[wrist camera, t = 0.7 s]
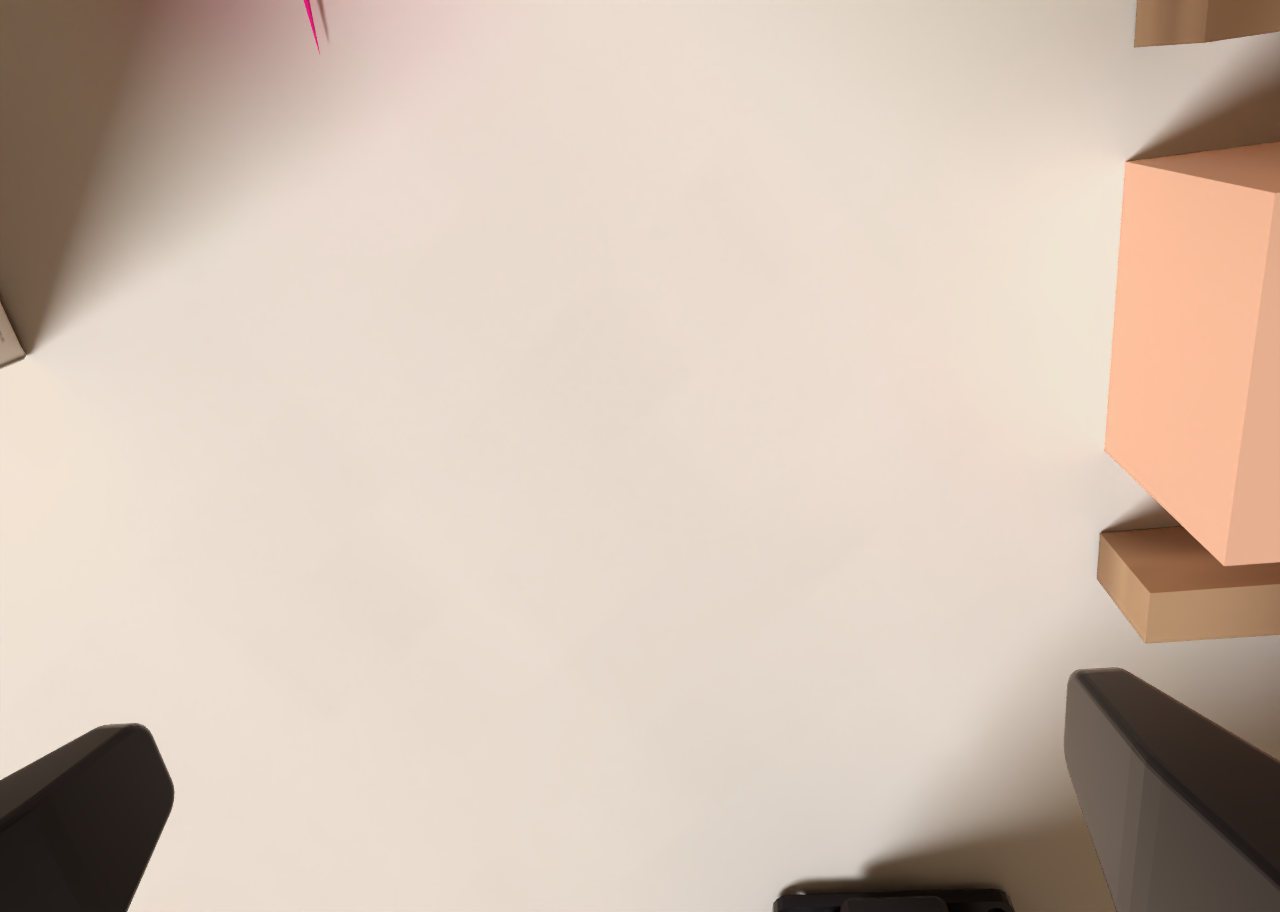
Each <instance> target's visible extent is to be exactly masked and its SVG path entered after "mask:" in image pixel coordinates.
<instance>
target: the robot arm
mask: <svg viewBox="0 0 1280 912" xmlns="http://www.w3.org/2000/svg"><path fill="white" fill-rule="evenodd" d="M1064 752H1065V759H1066V763H1067V768H1068V771H1069V774H1070V777H1071V780H1072V783H1073V786H1074V789H1075V792H1076V794H1077V797H1078V800H1079V803H1080V806H1081V809H1082V812H1083V815H1084V818H1085V820H1086V823H1087V826H1088V829H1089V832H1090V835H1091V838H1092V841H1093V844H1094V846H1095V849H1096V852H1097V855H1098V858H1099V861H1100V864H1101V867H1102V870H1103V872H1104V875H1105V878H1106V881H1107V884H1108V887H1109V890H1110V893H1111V896H1112V898H1113V901H1114V904H1115V907H1116V910H1117V912H1280V761H1278V760H1277V759H1275V758H1273V757H1272V756H1270V755H1268V754H1267V753H1265V752H1263V751H1261V750H1260V749H1258V748H1256V747H1255V746H1253V745H1251V744H1250V743H1248V742H1246V741H1245V740H1243V739H1241V738H1240V737H1238V736H1236V735H1234V734H1233V733H1231V732H1229V731H1228V730H1226V729H1224V728H1223V727H1221V726H1219V725H1218V724H1216V723H1214V722H1212V721H1211V720H1209V719H1207V718H1206V717H1204V716H1202V715H1201V714H1199V713H1197V712H1196V711H1194V710H1192V709H1191V708H1189V707H1187V706H1185V705H1184V704H1182V703H1180V702H1179V701H1177V700H1175V699H1174V698H1172V697H1170V696H1169V695H1167V694H1165V693H1163V692H1162V691H1160V690H1158V689H1157V688H1155V687H1153V686H1152V685H1150V684H1148V683H1147V682H1145V681H1143V680H1142V679H1140V678H1138V677H1136V676H1135V675H1133V674H1131V673H1130V672H1128V671H1126V670H1124V669H1121V668H1096V669H1079V670H1076V671H1075V672H1073V673H1072V674H1071V675H1070V678H1069V681H1068V685H1067V700H1066V716H1065V733H1064ZM173 802H174V785H173V782H172V779H171V777H170V775H169V772H168V770H167V768H166V766H165V763H164V761H163V759H162V756H161V754H160V752H159V749H158V747H157V745H156V743H155V740H154V738H153V736H152V734H151V732H150V731H149V730H148V729H147V728H146V727H145V726H144V725H141V724H138V723H128V724H110V725H103V726H100V727H97V728H95V729H93V730H91V731H89V732H88V733H86V734H84V735H82V736H80V737H79V738H77V739H75V740H73V741H71V742H69V743H68V744H66V745H64V746H62V747H60V748H58V749H57V750H55V751H53V752H51V753H49V754H47V755H46V756H44V757H42V758H40V759H38V760H36V761H35V762H33V763H31V764H29V765H27V766H25V767H24V768H22V769H20V770H18V771H16V772H15V773H13V774H11V775H9V776H7V777H5V778H4V779H2V780H0V912H127V911H128V908H129V906H130V904H131V902H132V899H133V897H134V895H135V892H136V890H137V888H138V886H139V883H140V881H141V879H142V876H143V874H144V872H145V870H146V867H147V865H148V863H149V860H150V858H151V856H152V854H153V851H154V849H155V847H156V844H157V842H158V840H159V838H160V835H161V833H162V831H163V828H164V826H165V824H166V822H167V819H168V817H169V815H170V812H171V810H172V807H173ZM773 912H1014V908H1013V905H1012V903H1011V900H1010V897H1009V896H1008V895H1007V893H1006V892H1004V891H1001V890H998V889H970V890H938V891H906V892H873V893H841V894H809V895H787V896H782V897H780V898H778V899H777V900H776V901H775V902H774V903H773Z"/></svg>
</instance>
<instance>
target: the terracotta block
mask: <svg viewBox="0 0 1280 912" xmlns="http://www.w3.org/2000/svg"><path fill="white" fill-rule="evenodd" d="M1104 451H1105V452H1106V453H1107V454H1109V455H1110V456H1111V457H1112V458H1113V459H1114V460H1115V461H1116V462H1117V463H1118V464H1119V465H1120V466H1121V467H1122V468H1123V469H1124V470H1125V471H1126V472H1127V473H1128V474H1129V475H1130V476H1131V477H1132V478H1133V479H1134V480H1135V481H1136V482H1137V483H1138V484H1140V485H1141V486H1142V487H1143V488H1144V489H1145V490H1146V491H1147V492H1148V493H1149V494H1150V495H1151V496H1152V497H1153V498H1154V499H1155V500H1156V501H1157V502H1158V503H1159V504H1160V505H1161V506H1162V507H1163V508H1164V509H1165V510H1166V511H1167V512H1168V513H1170V514H1171V515H1172V516H1173V517H1174V518H1175V519H1176V520H1177V521H1178V522H1179V523H1180V524H1181V525H1182V526H1183V527H1184V528H1185V529H1186V530H1187V531H1188V532H1189V533H1190V534H1191V535H1192V536H1193V537H1194V538H1195V539H1196V540H1197V541H1198V542H1199V543H1201V544H1202V545H1203V546H1204V547H1205V548H1206V549H1207V550H1208V551H1209V552H1210V553H1211V554H1212V555H1213V556H1214V557H1215V558H1216V559H1217V560H1218V561H1219V562H1220V563H1221V564H1222V565H1223V566H1234V565H1247V564H1261V563H1275V562H1280V142H1272V143H1265V144H1257V145H1250V146H1242V147H1234V148H1227V149H1219V150H1211V151H1204V152H1196V153H1188V154H1181V155H1173V156H1165V157H1158V158H1150V159H1143V160H1135V161H1127V162H1125V174H1124V188H1123V202H1122V215H1121V229H1120V243H1119V257H1118V271H1117V284H1116V298H1115V312H1114V326H1113V339H1112V353H1111V367H1110V381H1109V394H1108V408H1107V422H1106V436H1105V449H1104Z"/></svg>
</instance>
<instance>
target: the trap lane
mask: <svg viewBox="0 0 1280 912" xmlns="http://www.w3.org/2000/svg"><path fill="white" fill-rule="evenodd" d="M1279 31H1280V0H1137V13H1136V27H1135V41H1134V47H1146V46H1161V45H1176V44H1191V43H1205V42H1212V41H1218V40H1225V39H1232V38H1239V37H1245V36H1252V35H1259V34H1265V33H1272V32H1279ZM1097 580H1098V581H1099V582H1100V584H1101V585H1102V586H1103V588H1104V589H1105V590H1106V592H1107V593H1108V594H1109V596H1110V597H1111V598H1112V600H1113V601H1114V602H1115V604H1116V605H1117V606H1118V608H1119V609H1120V610H1121V612H1122V613H1123V614H1124V616H1125V617H1126V618H1127V620H1128V621H1129V622H1130V624H1131V625H1132V626H1133V628H1134V629H1135V630H1136V632H1137V633H1138V634H1139V636H1140V637H1141V638H1142V640H1143V641H1144V642H1145V643H1159V642H1175V641H1190V640H1205V639H1221V638H1236V637H1251V636H1267V635H1280V562H1275V563H1261V564H1247V565H1234V566H1223V565H1222V564H1221V563H1220V562H1219V561H1218V560H1217V559H1216V558H1215V557H1214V556H1213V555H1212V554H1211V553H1210V552H1209V551H1208V550H1207V549H1206V548H1205V547H1204V546H1203V545H1202V544H1201V543H1199V542H1198V541H1197V540H1196V539H1195V538H1194V537H1193V536H1192V535H1191V534H1190V533H1189V532H1188V531H1187V530H1186V529H1185V528H1184V527H1183V526H1181V527H1168V528H1156V529H1144V530H1132V531H1119V532H1107V533H1100V541H1099V555H1098V569H1097Z"/></svg>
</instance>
